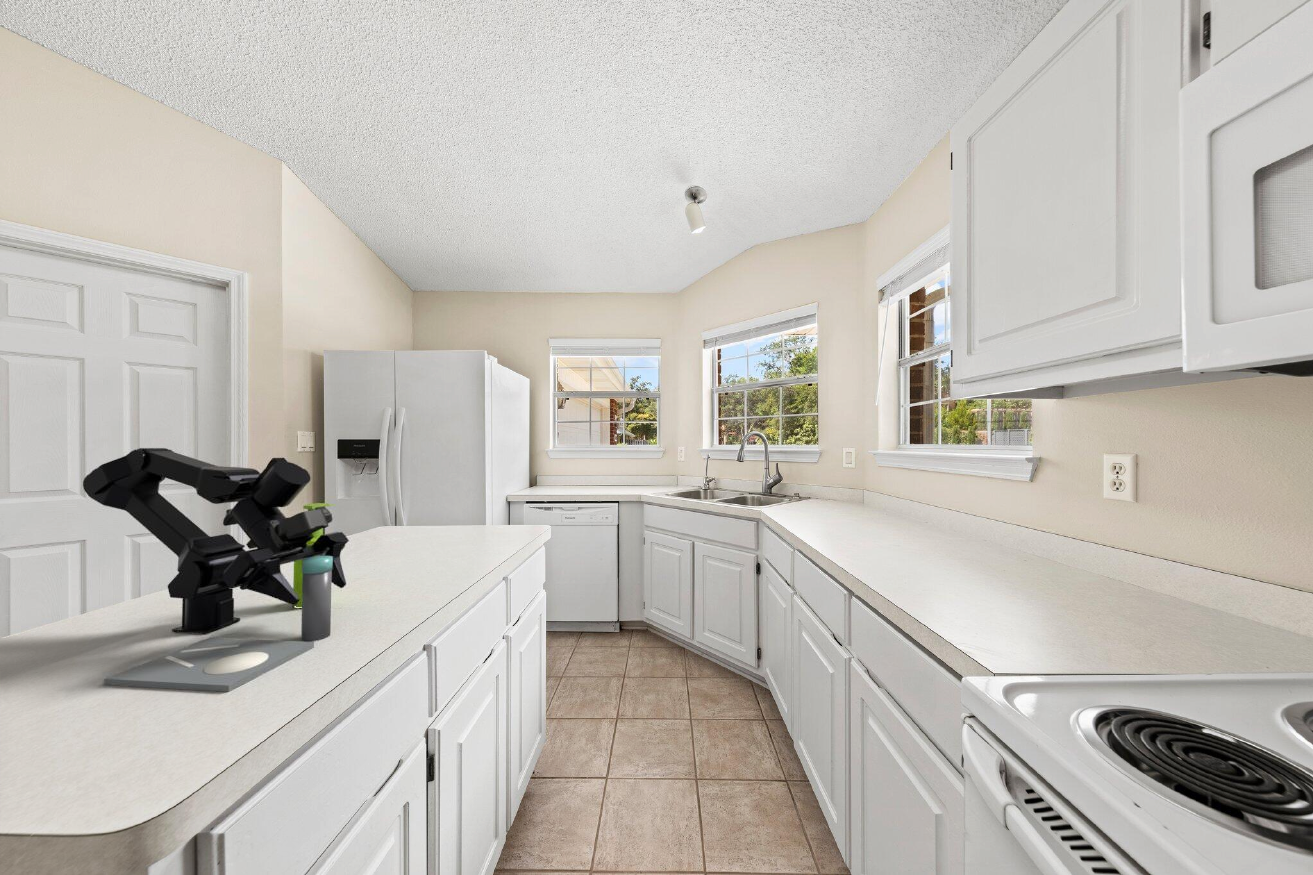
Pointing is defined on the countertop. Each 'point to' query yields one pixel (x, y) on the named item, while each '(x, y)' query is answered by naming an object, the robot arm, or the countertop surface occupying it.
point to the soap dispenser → (298, 564)
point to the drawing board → (211, 664)
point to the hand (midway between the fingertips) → (321, 594)
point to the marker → (316, 598)
